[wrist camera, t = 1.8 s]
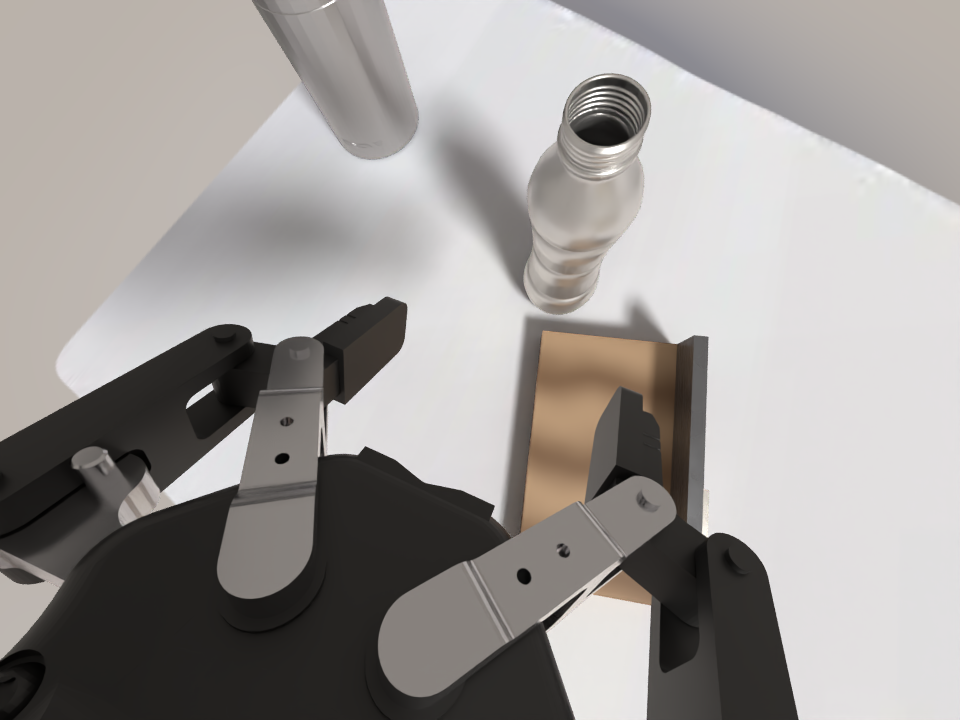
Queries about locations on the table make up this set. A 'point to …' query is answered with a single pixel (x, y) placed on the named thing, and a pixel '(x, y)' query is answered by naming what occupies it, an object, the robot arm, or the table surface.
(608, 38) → the table surface
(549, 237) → the silver bottle
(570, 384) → the shelf board
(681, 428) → the rail
